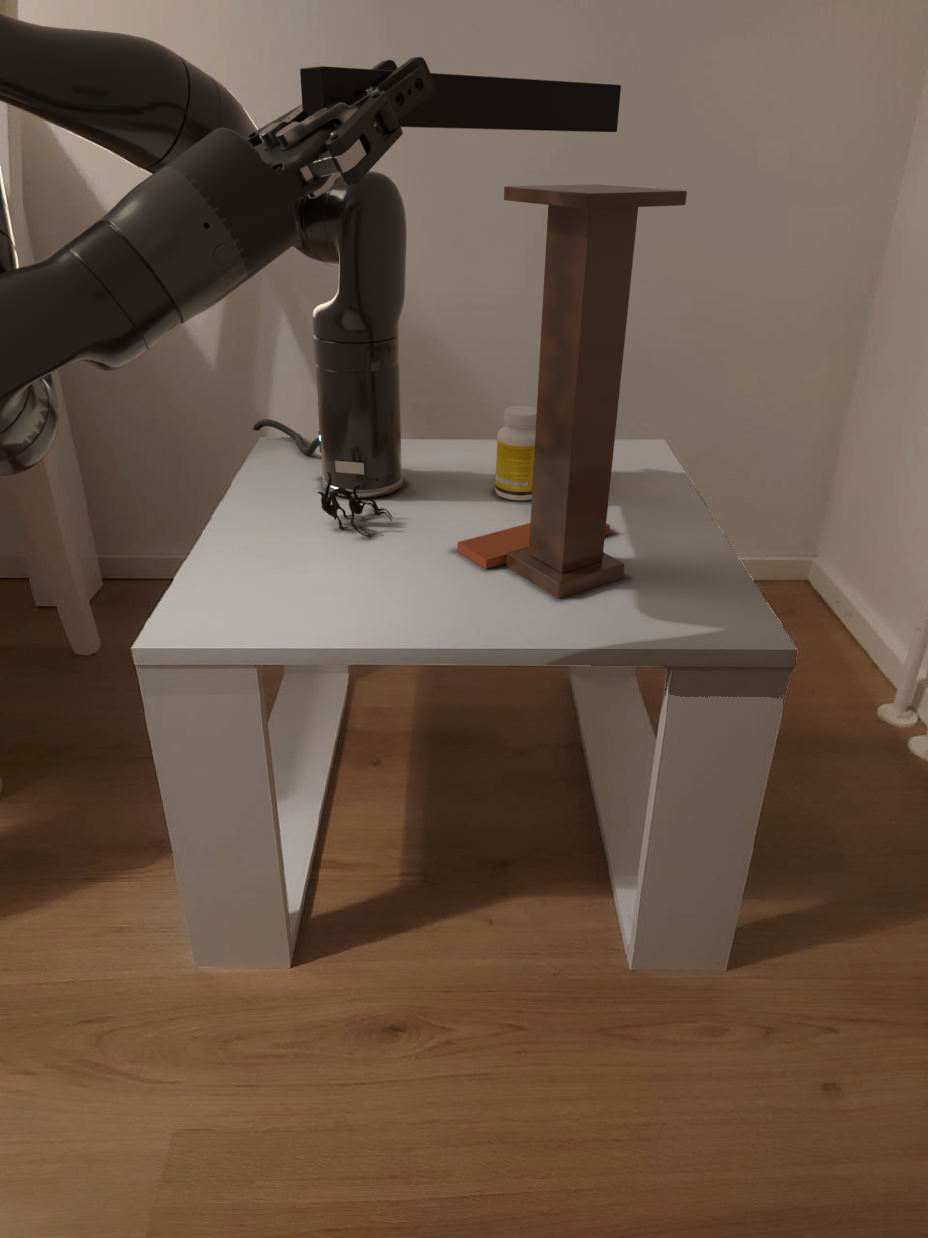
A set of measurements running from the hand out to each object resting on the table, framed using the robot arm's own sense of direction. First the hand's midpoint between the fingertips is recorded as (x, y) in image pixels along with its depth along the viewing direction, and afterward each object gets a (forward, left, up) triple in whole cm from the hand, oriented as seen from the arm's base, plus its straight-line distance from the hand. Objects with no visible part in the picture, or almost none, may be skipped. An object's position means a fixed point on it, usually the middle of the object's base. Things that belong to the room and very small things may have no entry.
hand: (410, 74), depth 56 cm
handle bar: (-2, +5, -1) cm, 5 cm away
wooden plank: (-7, +19, -40) cm, 44 cm away
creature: (-21, +5, -40) cm, 45 cm away
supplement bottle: (-19, +26, -40) cm, 51 cm away
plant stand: (0, +17, -40) cm, 43 cm away
